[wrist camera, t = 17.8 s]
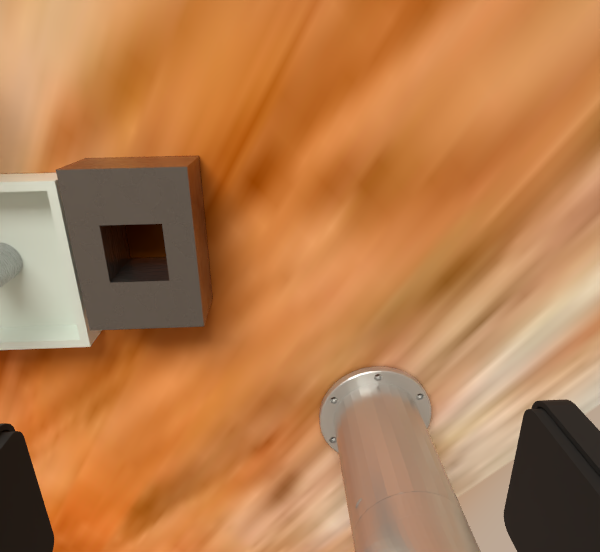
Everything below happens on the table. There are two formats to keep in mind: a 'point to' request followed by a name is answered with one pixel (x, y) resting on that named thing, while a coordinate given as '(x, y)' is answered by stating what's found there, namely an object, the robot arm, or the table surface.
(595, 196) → the table surface
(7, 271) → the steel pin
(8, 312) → the tray
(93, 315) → the hitch block
